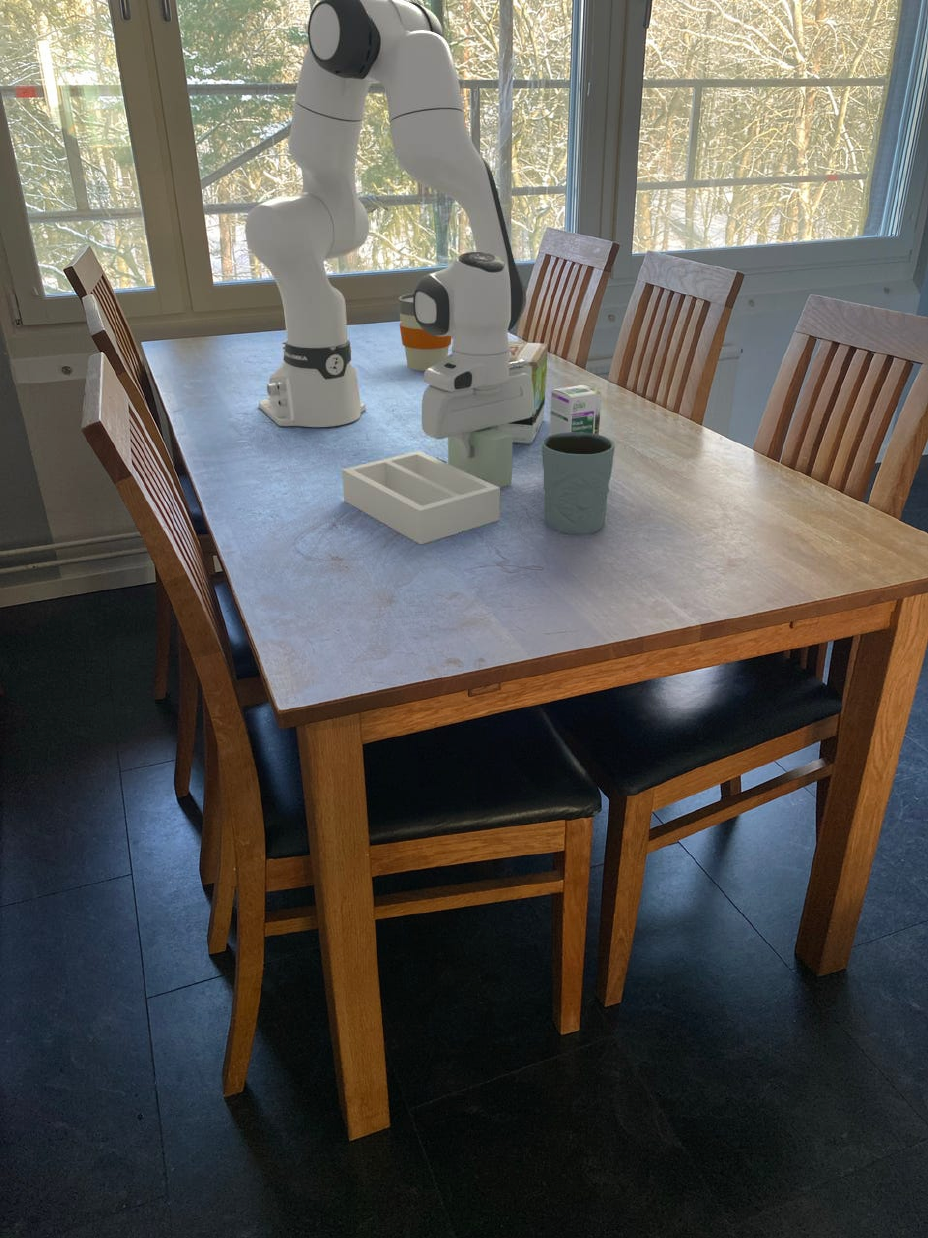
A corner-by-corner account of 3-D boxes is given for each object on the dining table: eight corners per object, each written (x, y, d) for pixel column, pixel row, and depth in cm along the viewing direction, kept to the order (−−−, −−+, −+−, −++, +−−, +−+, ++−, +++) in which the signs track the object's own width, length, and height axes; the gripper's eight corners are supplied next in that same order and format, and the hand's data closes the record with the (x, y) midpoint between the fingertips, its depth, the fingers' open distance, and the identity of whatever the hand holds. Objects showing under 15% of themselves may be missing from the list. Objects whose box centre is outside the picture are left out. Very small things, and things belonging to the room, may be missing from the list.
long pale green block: (448, 468, 153) (448, 420, 149) (465, 463, 155) (466, 416, 151) (494, 489, 145) (495, 439, 141) (512, 484, 147) (513, 435, 143)
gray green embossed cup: (589, 542, 127) (596, 459, 122) (525, 526, 132) (528, 445, 126) (619, 518, 135) (626, 438, 129) (557, 504, 140) (562, 426, 134)
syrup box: (566, 487, 145) (571, 396, 138) (546, 475, 150) (550, 387, 143) (596, 481, 148) (603, 391, 141) (575, 470, 152) (581, 382, 145)
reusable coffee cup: (464, 364, 214) (465, 296, 206) (434, 375, 204) (433, 305, 197) (420, 356, 220) (418, 290, 212) (388, 367, 210) (386, 299, 203)
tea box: (534, 445, 164) (537, 360, 156) (478, 441, 165) (479, 357, 158) (545, 420, 177) (548, 341, 169) (493, 416, 178) (494, 338, 171)
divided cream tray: (344, 500, 140) (342, 469, 138) (425, 479, 148) (424, 449, 146) (420, 544, 127) (420, 510, 124) (505, 518, 135) (506, 486, 132)
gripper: (518, 353, 149) (515, 437, 156) (414, 373, 138) (416, 461, 145) (544, 361, 145) (541, 446, 151) (439, 382, 134) (440, 473, 141)
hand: (479, 454), depth 148 cm, fingers closed on long pale green block, 3 cm apart
